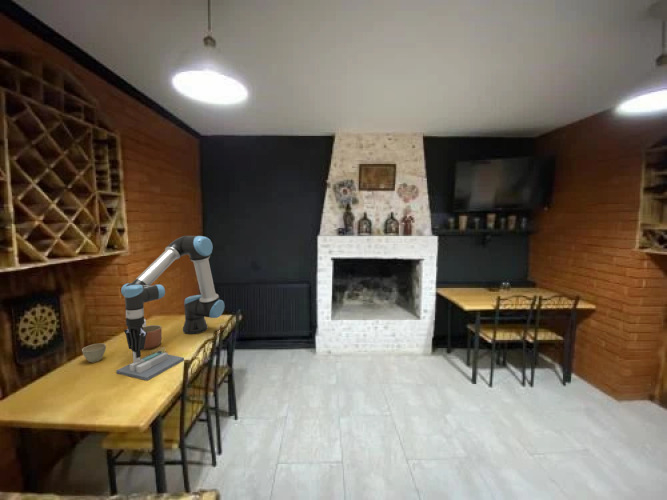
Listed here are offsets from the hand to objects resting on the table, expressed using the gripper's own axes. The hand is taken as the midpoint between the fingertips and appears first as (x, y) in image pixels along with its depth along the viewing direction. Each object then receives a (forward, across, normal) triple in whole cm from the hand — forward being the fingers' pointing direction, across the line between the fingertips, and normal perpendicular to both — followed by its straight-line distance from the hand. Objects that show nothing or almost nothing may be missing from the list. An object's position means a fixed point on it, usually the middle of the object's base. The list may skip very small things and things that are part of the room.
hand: (136, 363), depth 157 cm
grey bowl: (+4, -30, 0) cm, 30 cm away
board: (+3, +4, +5) cm, 7 cm away
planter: (+3, -18, +23) cm, 29 cm away
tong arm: (+2, +2, +4) cm, 5 cm away
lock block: (+1, -2, +14) cm, 14 cm away
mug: (+4, -33, +26) cm, 43 cm away
